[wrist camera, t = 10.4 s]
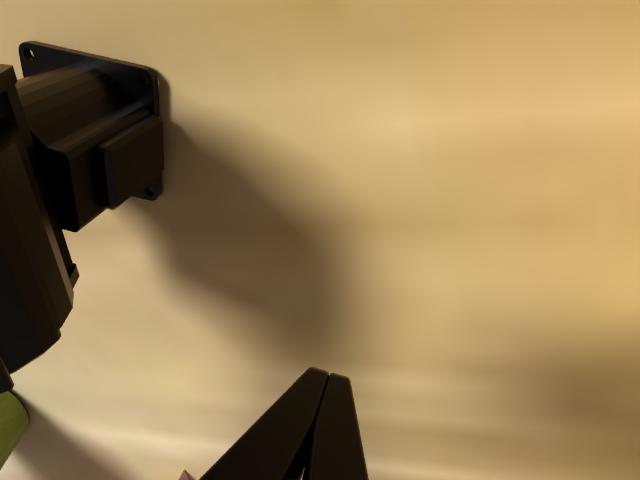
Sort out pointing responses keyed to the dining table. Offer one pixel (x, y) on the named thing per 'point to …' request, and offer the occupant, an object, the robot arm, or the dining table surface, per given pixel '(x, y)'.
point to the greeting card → (183, 476)
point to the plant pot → (11, 424)
